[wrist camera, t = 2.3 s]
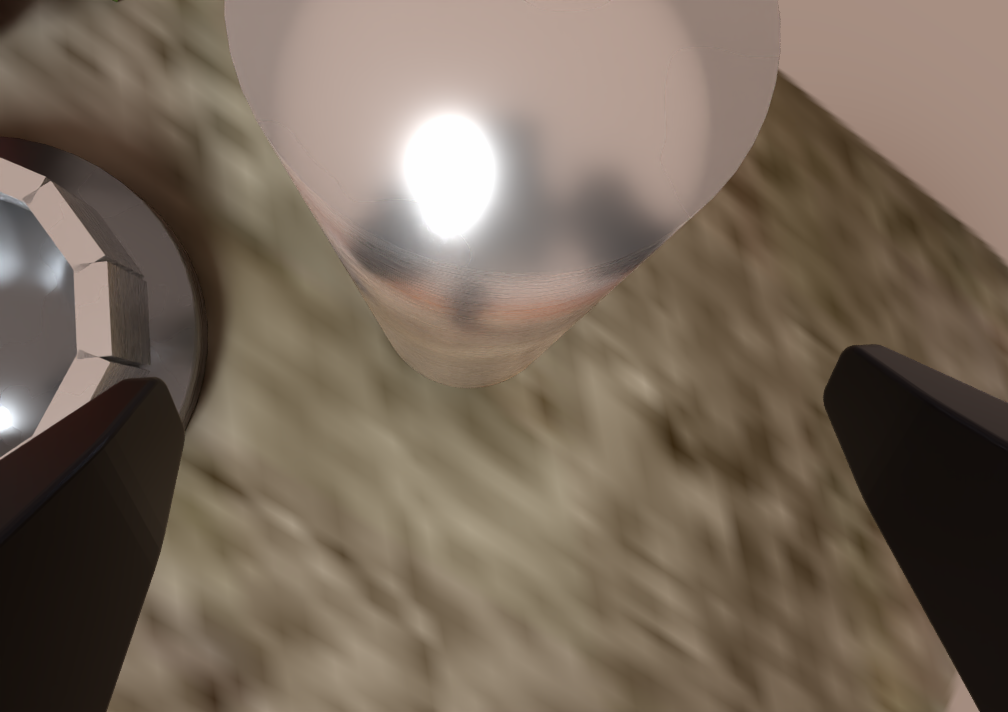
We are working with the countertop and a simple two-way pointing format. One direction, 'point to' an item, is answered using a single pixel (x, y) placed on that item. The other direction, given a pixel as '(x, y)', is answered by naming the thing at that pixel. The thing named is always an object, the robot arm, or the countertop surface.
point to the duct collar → (87, 292)
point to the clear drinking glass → (502, 150)
